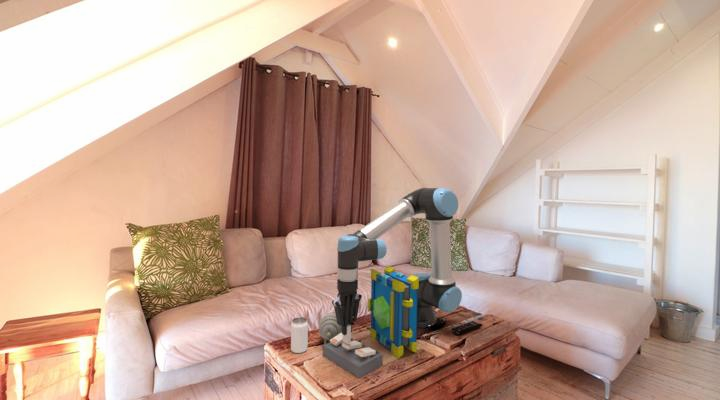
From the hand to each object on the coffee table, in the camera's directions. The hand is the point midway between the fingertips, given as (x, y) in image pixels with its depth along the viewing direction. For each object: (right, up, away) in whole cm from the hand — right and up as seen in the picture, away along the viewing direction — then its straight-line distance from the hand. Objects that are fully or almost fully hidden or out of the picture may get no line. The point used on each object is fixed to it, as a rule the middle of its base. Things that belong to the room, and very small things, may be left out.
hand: (346, 342), depth 120 cm
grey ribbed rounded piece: (-8, -7, +17) cm, 20 cm away
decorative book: (+18, -8, +14) cm, 24 cm away
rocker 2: (+2, -2, +2) cm, 3 cm away
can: (-19, -7, +10) cm, 23 cm away
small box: (+7, -2, -3) cm, 8 cm away
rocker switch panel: (+2, -8, +2) cm, 8 cm away
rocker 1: (-3, -2, +7) cm, 8 cm away
